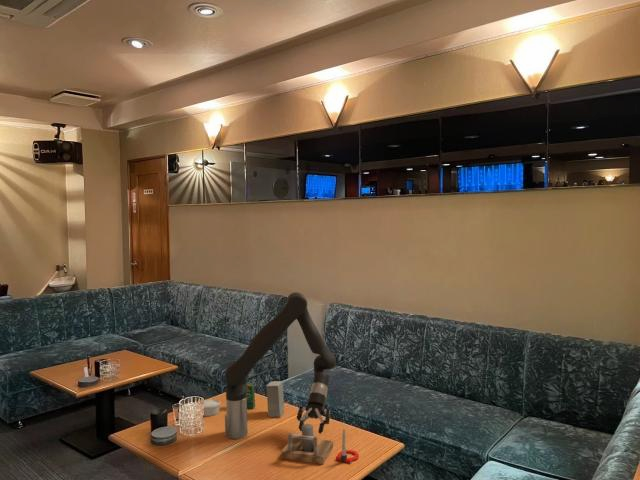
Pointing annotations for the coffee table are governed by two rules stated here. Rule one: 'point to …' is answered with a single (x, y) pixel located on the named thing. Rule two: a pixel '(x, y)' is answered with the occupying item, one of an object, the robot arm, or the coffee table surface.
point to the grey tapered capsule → (307, 444)
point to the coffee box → (250, 396)
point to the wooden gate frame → (317, 456)
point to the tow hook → (342, 454)
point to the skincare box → (275, 398)
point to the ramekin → (211, 407)
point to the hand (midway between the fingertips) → (310, 431)
